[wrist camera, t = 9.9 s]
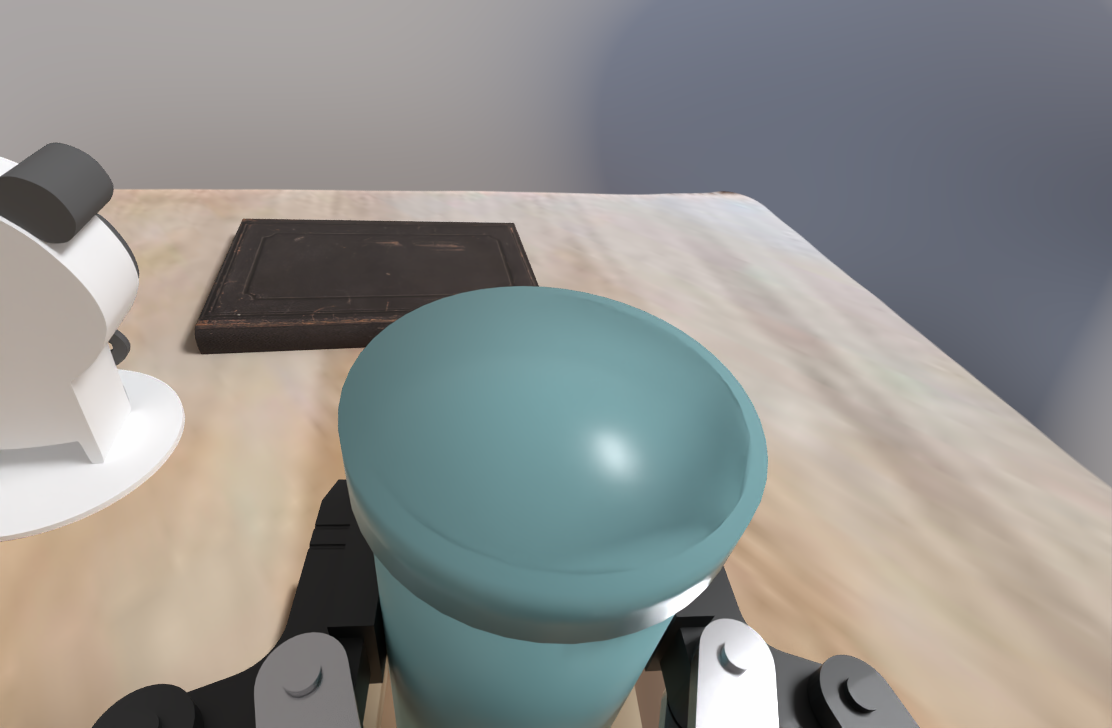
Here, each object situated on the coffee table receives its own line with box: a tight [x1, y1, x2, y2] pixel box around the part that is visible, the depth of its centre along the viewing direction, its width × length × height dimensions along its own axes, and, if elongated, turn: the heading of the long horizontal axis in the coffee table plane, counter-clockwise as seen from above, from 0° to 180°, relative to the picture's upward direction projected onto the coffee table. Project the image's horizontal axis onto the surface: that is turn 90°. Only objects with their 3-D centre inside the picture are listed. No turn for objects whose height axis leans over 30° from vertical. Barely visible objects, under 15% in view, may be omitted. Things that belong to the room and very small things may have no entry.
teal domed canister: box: [338, 286, 768, 728], centre depth 10 cm, size 5×5×11 cm
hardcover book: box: [195, 219, 539, 354], centre depth 43 cm, size 16×23×2 cm
